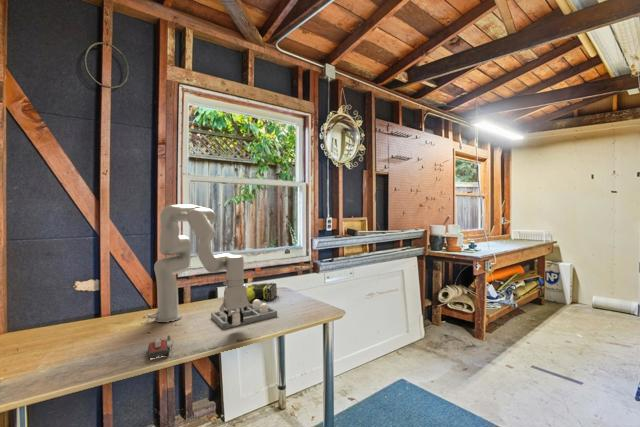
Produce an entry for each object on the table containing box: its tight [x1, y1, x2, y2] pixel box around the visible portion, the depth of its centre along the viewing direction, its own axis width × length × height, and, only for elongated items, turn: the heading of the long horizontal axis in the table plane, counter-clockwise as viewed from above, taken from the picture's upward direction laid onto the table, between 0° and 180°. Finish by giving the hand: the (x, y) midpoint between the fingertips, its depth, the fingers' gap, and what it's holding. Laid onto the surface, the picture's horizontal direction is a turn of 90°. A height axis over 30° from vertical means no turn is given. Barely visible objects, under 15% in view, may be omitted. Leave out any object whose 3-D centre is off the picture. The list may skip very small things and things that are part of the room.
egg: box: [231, 311, 240, 326], centre depth 143 cm, size 4×4×6 cm
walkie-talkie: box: [147, 335, 174, 359], centre depth 126 cm, size 9×4×20 cm
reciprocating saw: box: [246, 282, 278, 302], centre depth 190 cm, size 10×43×20 cm
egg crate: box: [210, 298, 278, 330], centre depth 162 cm, size 28×19×6 cm
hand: (235, 322), depth 143 cm, fingers closed on egg, 4 cm apart
